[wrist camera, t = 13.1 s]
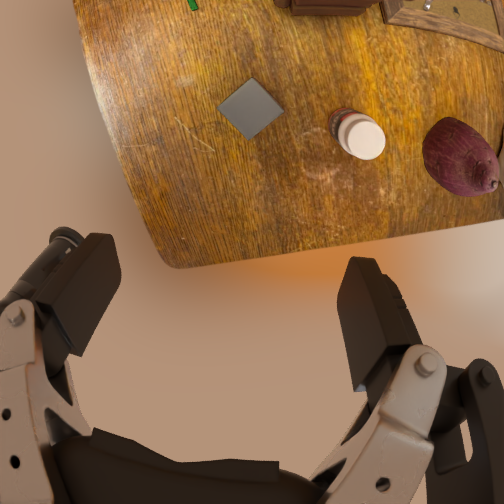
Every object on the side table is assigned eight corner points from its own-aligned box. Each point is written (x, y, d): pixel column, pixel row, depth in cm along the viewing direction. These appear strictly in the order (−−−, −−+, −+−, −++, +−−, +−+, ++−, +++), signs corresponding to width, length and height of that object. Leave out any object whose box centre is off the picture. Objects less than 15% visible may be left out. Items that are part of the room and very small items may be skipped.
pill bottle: (340, 100, 28) (361, 107, 21) (370, 122, 29) (397, 136, 22) (320, 129, 31) (334, 145, 24) (350, 150, 32) (371, 171, 25)
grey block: (251, 132, 32) (248, 141, 27) (223, 104, 30) (215, 108, 26) (282, 107, 29) (284, 111, 25) (254, 77, 27) (251, 76, 23)
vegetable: (407, 162, 34) (428, 209, 24) (433, 103, 27) (473, 124, 17) (459, 192, 33) (491, 249, 22) (487, 139, 26) (535, 179, 15)
